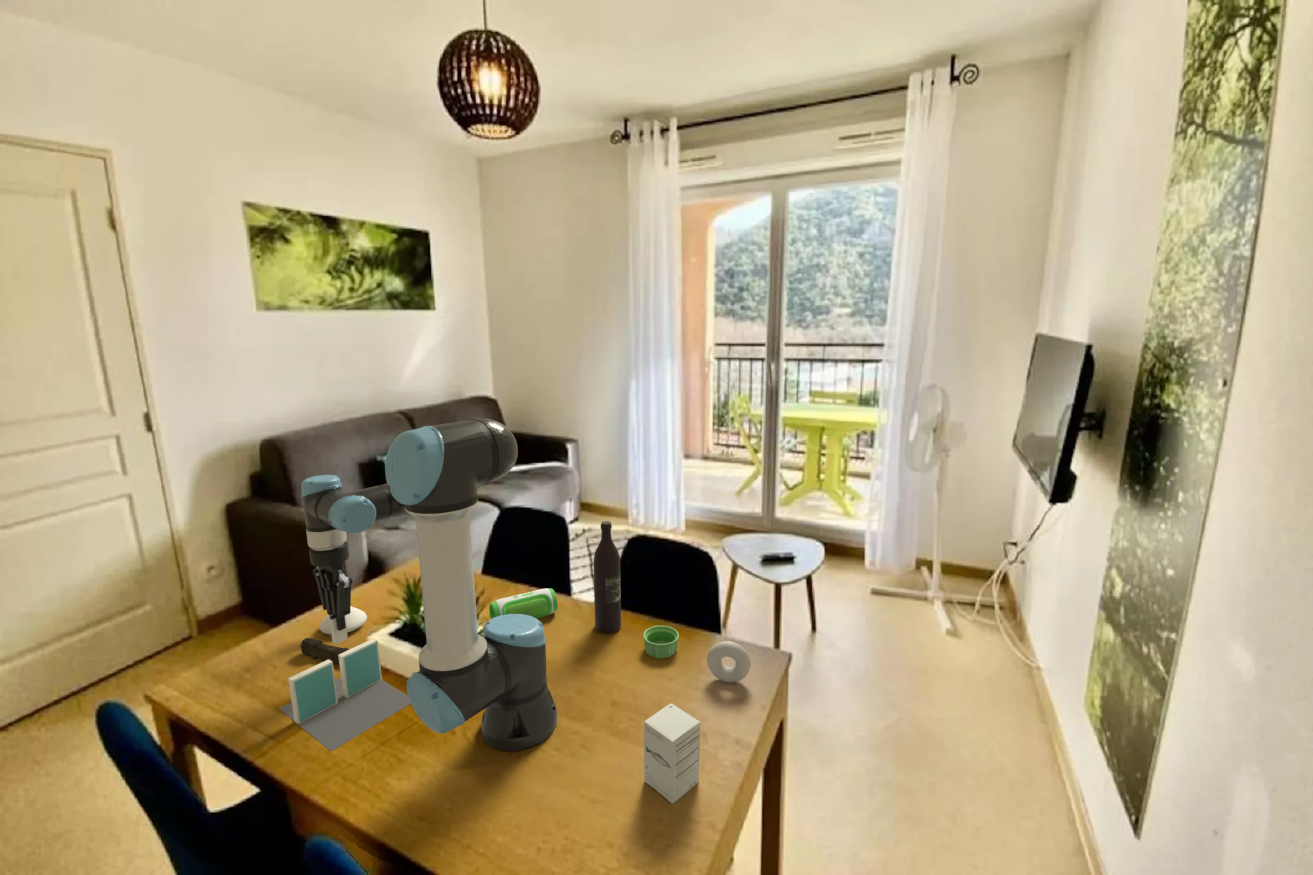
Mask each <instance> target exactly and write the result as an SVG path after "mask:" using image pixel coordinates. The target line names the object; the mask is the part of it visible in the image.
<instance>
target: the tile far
mask: <svg viewBox="0 0 1313 875" xmlns="http://www.w3.org/2000/svg"><path fill="white" fill-rule="evenodd" d="M338 657H339V663H338V664H339V670H340V673H339V674H340V677H341V681H342V689H343V696H345V697H346V698H349V697H351V696H352V695H354V694H356V693H358V692H360V691H362V690H364V689H365V688H367V687H369V686H371V685H373V684H375V683H377V682H378V681H380V680H383V676H382V669H381V668H382V667H381V659H380V650H379V641H378V639H376V638H371V639H370V640H367V641H365V642H363V643H360V644H359V645H356V646H354V647H352V648H350V650H347V651H345V652H343V653H341V654H339V655H338Z"/></svg>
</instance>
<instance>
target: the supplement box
mask: <svg viewBox="0 0 1313 875" xmlns="http://www.w3.org/2000/svg"><path fill="white" fill-rule="evenodd" d="M643 726H644V729H643V730H644V731H643V733H644V736H643V738H644V739H643V742H644V743H643V747H644V748H643V754H644V755H643V756H644V757H643V764H644V765H643V773H644V774H643V781H644V783H646V784H647V785H649V786H650V787H651V788H653V789H654V790H655V791H657V792H658V794H660V795H661V796H662V797H664V798H665V799H666V800H667V801H668V802H669V803H671V804H672V805H673V804H674V803H676V802H677V801H679V800H680V798H682V797H683V796H684V795H685V794H686V793H688V792H689V791H690V790H691V789H693V788H694V786H696V785H697V784H698V783H699V781H700V778H699V777H700V758H701V756H700V751H701V750H700V749H701V721H700V720H698V719H697V718H695V717H693V716H692V715H691V714H689V713H687V711H684V710H683V709H681V708H680V707H678V706H676V705H675V704H674V703H671V702H670V704H668V705H666V706H664V707H663V708H662V709H661V708H660V710H658V711H657V712H656V713H654V714H653V715H651V716H650V717H648V718H647V719H646V720H645V721H644V723H643Z"/></svg>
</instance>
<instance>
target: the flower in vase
mask: <svg viewBox="0 0 1313 875" xmlns="http://www.w3.org/2000/svg"><path fill="white" fill-rule="evenodd" d="M316 568H318V567H316ZM346 578H347V579H348V578H349V577H348V576H346ZM329 616H330V615H328V614H327V615H326V616H325V617H324V618H323V619H322V620H321V622H320V624H319V630H320V632H322V633H323V634H325V635H331V636H332V634H331V626H330V618H329ZM367 618H368V615H367V614H366V612H365V611H363V610H362V609H359V608H357V607H354V606H351V607H350V614H348V615H345V620H346V628H347V633H350V632H352V631H355V630H357V629H359V628H360V627H362V626H363V625H364V624H365V623H366V621H367Z"/></svg>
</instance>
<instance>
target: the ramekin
mask: <svg viewBox="0 0 1313 875" xmlns="http://www.w3.org/2000/svg"><path fill="white" fill-rule="evenodd" d="M679 636H680V634H679V632H678V631H677V629H675V628H673V627H671V626H668V625H654V626H653V625H652V626H651V627H649V628H647V629H645V631H644V632H643V636H642V637H643V641H644V642H643V643H644V650H645V653H646V652H647V653H646V654H647V655H648V656H649V657H651V656H653V657H652V658H654V657H655V658H654V659H658V658H664V659H667V658H666V657H669V656H671V655H673V654H674V655H676V653H677V651H676V650H678V642H679V641H678V640H679ZM662 641H663V642H662ZM675 652H676V653H675ZM674 655H673V656H674ZM671 657H672V656H671ZM669 658H670V657H669Z"/></svg>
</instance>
